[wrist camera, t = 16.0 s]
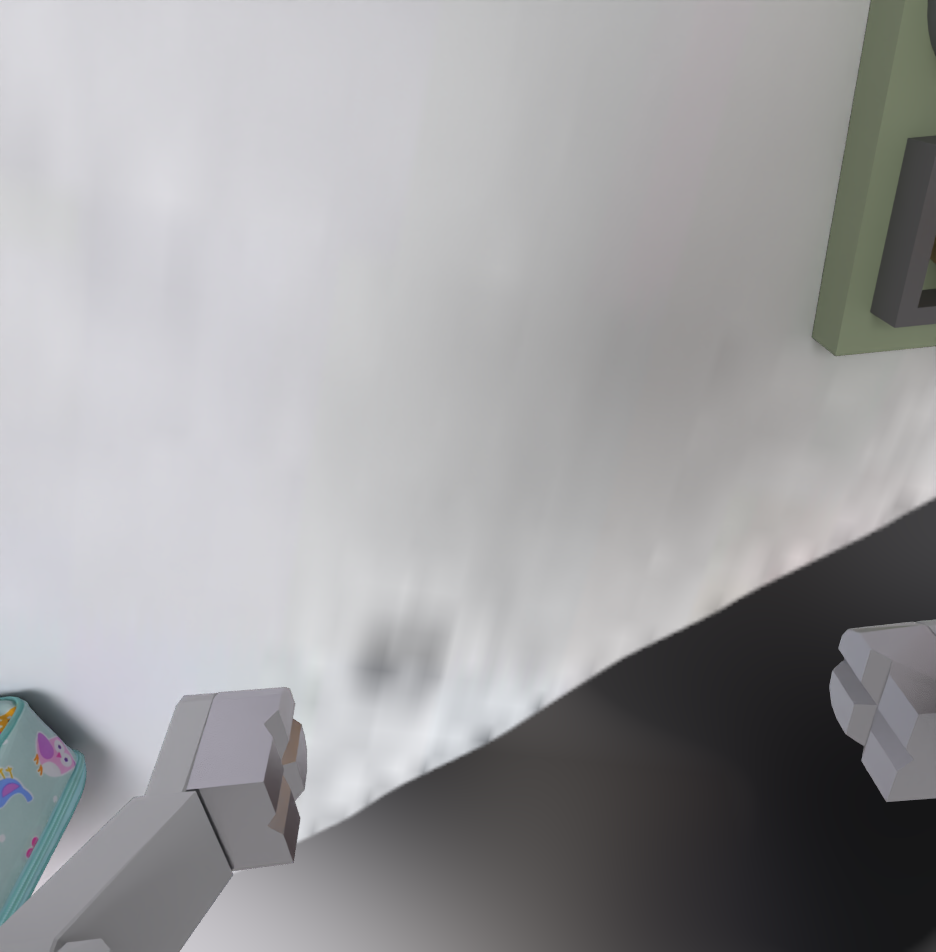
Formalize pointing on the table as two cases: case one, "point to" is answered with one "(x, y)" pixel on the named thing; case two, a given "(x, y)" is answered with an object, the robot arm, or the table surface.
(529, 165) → the table surface
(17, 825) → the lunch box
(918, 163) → the green slab
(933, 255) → the orange pill bottle
